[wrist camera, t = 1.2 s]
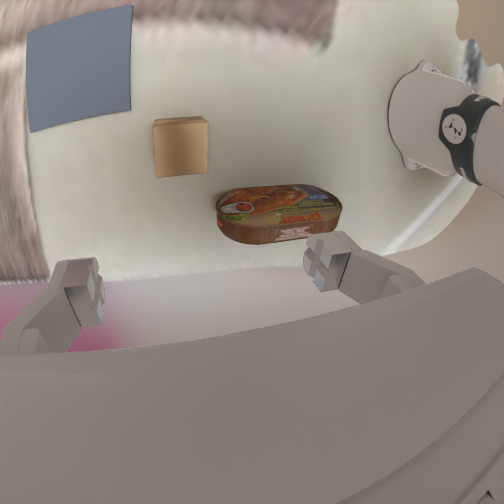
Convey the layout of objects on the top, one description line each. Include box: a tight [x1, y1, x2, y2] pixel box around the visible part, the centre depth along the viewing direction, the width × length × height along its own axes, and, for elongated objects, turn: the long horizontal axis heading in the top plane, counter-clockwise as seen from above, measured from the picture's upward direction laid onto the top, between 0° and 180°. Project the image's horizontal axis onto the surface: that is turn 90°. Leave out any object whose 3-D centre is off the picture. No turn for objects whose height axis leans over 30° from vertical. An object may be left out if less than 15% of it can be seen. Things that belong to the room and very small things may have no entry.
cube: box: [153, 116, 208, 178], centre depth 26 cm, size 5×5×5 cm
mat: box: [26, 5, 133, 133], centre depth 19 cm, size 12×12×1 cm
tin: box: [216, 184, 342, 245], centre depth 32 cm, size 15×3×8 cm, turn 87°
